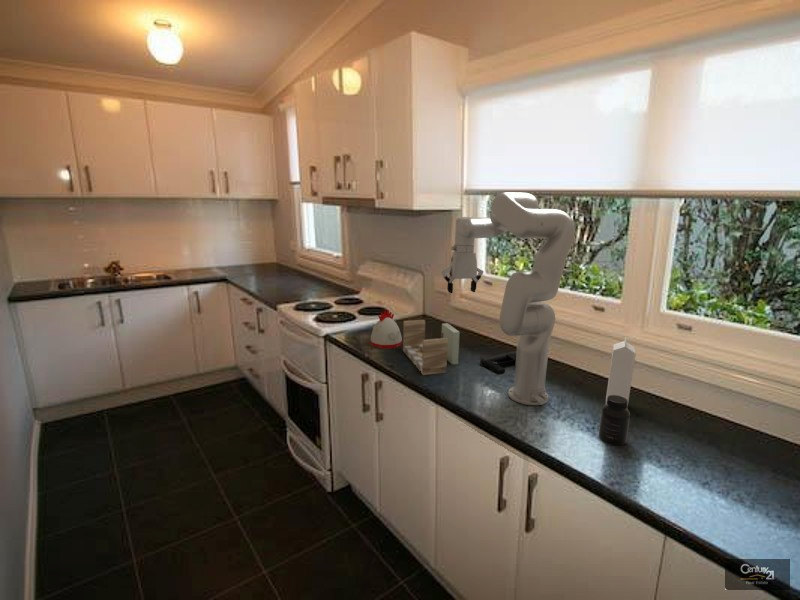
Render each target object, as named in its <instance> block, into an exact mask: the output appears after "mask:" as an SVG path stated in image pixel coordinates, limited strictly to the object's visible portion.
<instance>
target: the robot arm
mask: <svg viewBox="0 0 800 600" xmlns="http://www.w3.org/2000/svg"><path fill="white" fill-rule="evenodd" d="M490 207H491V208H490V209H491V210H490V212H489V217H471V216H459V217H457V218H456V219H455V232H454V245H453V246H451V247H450V250H451V251H453V252H452V255H451V257H450V263H449V267H448V268H446V269H445V270H442V271H441V274H442V277H443V279H444V280H445V281H446V282H447V292H448V293H450V294H453V291H454V283H453V282H454V281H455V279H456V280H464V279H465V280H467V279H470V280H471V282H470V292H473V293H475V292H476V290H477V283H479V280H480V279H481V278H482V276H483V274H484V270H483V269H480V268H478V262H477V253H476V252H474V251H475V239H492V238H495V237H498V236H502V235H503V234H504V235H505V234H506V233H507V232H508V231H509V232H510V233H511V234H512V235H514V236H515V237H517V238H519V239H525V240H528V239H531V240H532V239H545V241H544V243H543V244H542V245H541V246H540V247H539V249H538V250H537V252H536V255H535V257H534V261H533V262H534V263H533V266H532V268H531V269H530V270H521V271H517V272H515V273H513V274H512V275H510V277H509V278H508V280H507V282H506V285H505V289H504V292H503V298H502V303H501V307H500V312H499V325H500V329H501V331H502V332H503V333H504V334H505V335H506V336H510V337H519V338H518V341H517V344H516V345H517V346H516V351H517V354H516V365H514V366H515V369H514V379H513V386H512V387H510V388H509V389H508V392H507V394H508V397H510V399H511V400H512V401H514V402H517V403H519V404H521V405H522V404H523V405H527V406H540V405H541V406H542V405H545V404H546V403H547V402H548V401H549V400H550V398H549V394H548V392H546V390H547V389H546V388H545V387H546V377H547V368H548V367H547V366H548V358H549V357H548V356H549V349H550V340H551V337H552V333H553V330H554V327H555V324H556V323H555V322H556V313H555V310H554V308H553V307H552V306H551V305H550V304H548V303H546V302H548V301H551V300H554V298H556V296H557V294H558V291H559V288H560V284H561V281H562V277H563V274H564V271H565V270H564V269H565V266H566V265H565V264H566V262H567V258H568V255H569V253H570V250H571V248H572V246H573V242H574V239H575V235H576V234H575V230H576V229H575V224H574V221H573V219H572V217H571V216H570V215H569V214H568V213H567V212H565V211H564V210H561V209H555V208H539V202H538V199H537V198H536V196H535V195H533V194H531V193H529V192H518V191H517V192H516V191H515V192H512V191H509V192H508V191H506V192H504V191H503V192H501V193H498V194H497V195H496V196H495V197H494V198H493V200H492V202H491V206H490ZM448 273H449V276H448Z"/></svg>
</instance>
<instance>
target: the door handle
mask: <svg viewBox="0 0 800 600" xmlns="http://www.w3.org/2000/svg"><path fill="white" fill-rule="evenodd" d="M516 354H517V350H513V351H509V352H504V353H499V354H495V355H490V356H486V357H481V358H480V360H479V363H480V365H482V366H484V367H486V368H488V369H490V370H491V371H493V372H494V373H496V374H498V375H501V374H504V373H505V371H506V369H505V368H508V367H512V366H516Z"/></svg>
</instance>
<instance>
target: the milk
mask: <svg viewBox="0 0 800 600" xmlns="http://www.w3.org/2000/svg"><path fill="white" fill-rule="evenodd" d="M636 352H637V351H636V348H635V347H634V346H633V345H632V344H630V343H629V342H627V336H625V338H624V340H623V341H620V342H616V343H614V344H613V346H612V352H611V353H612V354H611V359H610V367H609V373H608V374H609V375H608V381H607V387H606V394H605V395H606V396H605V405H606V404H607V398H608V396H610V395H617V396H621V397H624V398H626V399H627V401H628V403H627V408H628V406H629V405H628V404H629V402H630V401H629V400H630V399H629V398H630V393H631V387H632V380H633V374H634V367H635V361H636V355H637V353H636Z"/></svg>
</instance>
